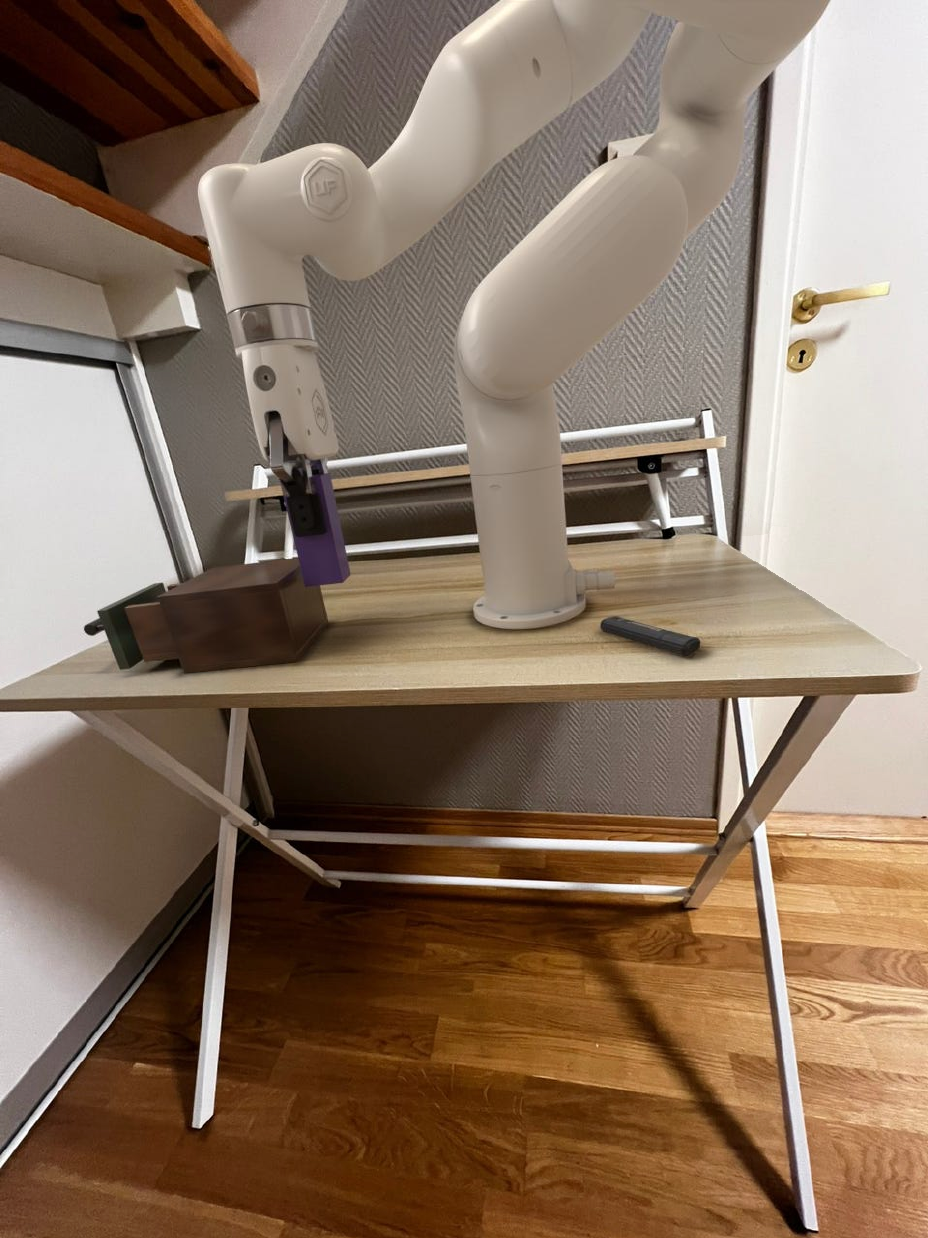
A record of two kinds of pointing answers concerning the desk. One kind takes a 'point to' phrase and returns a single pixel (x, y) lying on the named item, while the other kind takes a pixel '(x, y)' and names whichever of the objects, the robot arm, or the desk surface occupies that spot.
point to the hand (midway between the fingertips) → (317, 529)
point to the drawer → (136, 627)
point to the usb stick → (651, 636)
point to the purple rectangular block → (323, 542)
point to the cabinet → (244, 616)
